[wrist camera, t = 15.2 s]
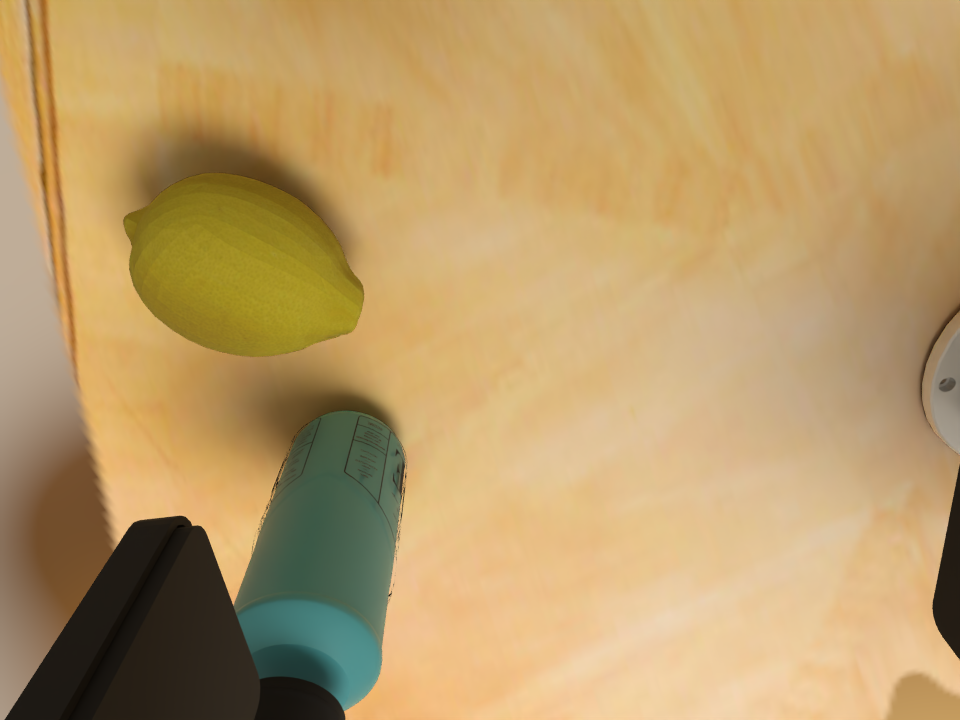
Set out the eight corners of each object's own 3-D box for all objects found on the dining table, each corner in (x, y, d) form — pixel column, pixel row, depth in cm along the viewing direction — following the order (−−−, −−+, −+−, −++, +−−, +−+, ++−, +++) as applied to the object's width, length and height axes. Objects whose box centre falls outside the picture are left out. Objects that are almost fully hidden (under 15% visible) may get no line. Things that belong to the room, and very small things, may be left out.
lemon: (134, 252, 37) (53, 313, 29) (196, 115, 34) (123, 145, 27) (327, 356, 39) (296, 435, 32) (400, 237, 36) (383, 294, 29)
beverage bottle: (276, 412, 41) (124, 735, 23) (386, 377, 40) (319, 684, 22) (325, 501, 43) (224, 853, 25) (429, 470, 43) (401, 811, 25)
